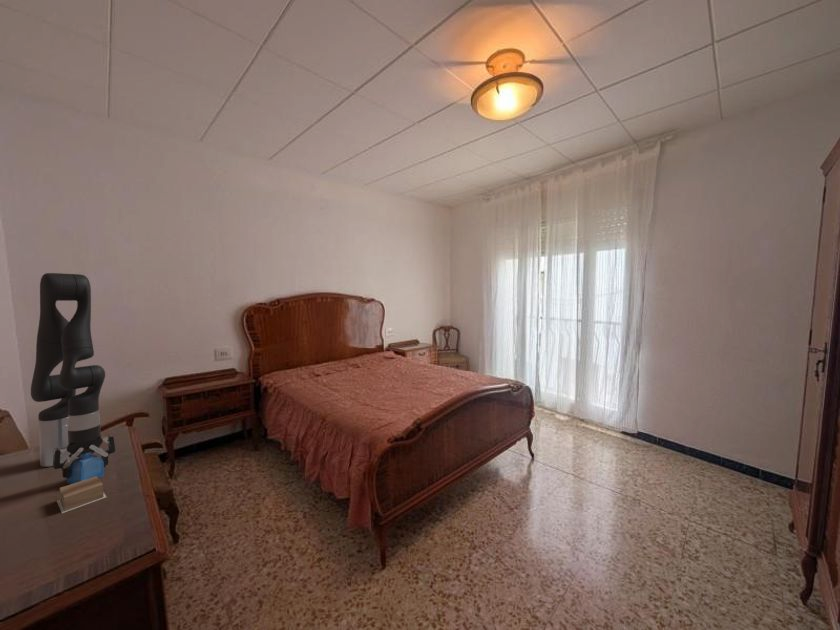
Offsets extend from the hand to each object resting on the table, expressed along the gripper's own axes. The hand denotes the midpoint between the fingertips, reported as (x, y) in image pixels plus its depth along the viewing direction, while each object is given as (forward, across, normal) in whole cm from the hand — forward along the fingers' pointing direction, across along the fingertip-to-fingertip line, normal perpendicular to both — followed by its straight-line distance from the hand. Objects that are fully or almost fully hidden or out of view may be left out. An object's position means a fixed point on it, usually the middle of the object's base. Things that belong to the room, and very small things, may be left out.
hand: (86, 472), depth 107 cm
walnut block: (+2, +3, +14) cm, 15 cm away
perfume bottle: (+4, 0, 0) cm, 4 cm away
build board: (+4, +3, +14) cm, 15 cm away
